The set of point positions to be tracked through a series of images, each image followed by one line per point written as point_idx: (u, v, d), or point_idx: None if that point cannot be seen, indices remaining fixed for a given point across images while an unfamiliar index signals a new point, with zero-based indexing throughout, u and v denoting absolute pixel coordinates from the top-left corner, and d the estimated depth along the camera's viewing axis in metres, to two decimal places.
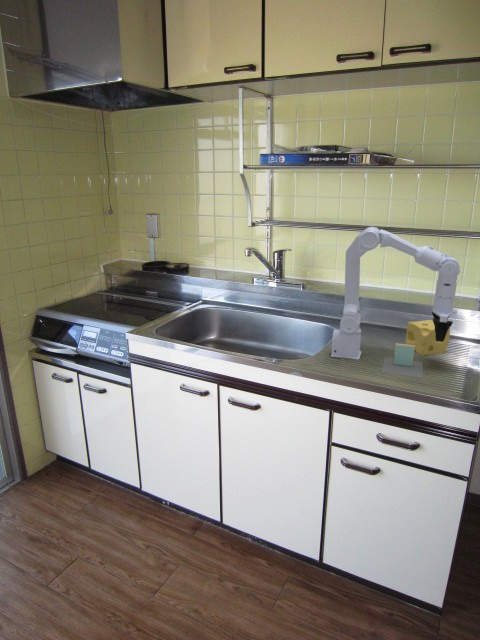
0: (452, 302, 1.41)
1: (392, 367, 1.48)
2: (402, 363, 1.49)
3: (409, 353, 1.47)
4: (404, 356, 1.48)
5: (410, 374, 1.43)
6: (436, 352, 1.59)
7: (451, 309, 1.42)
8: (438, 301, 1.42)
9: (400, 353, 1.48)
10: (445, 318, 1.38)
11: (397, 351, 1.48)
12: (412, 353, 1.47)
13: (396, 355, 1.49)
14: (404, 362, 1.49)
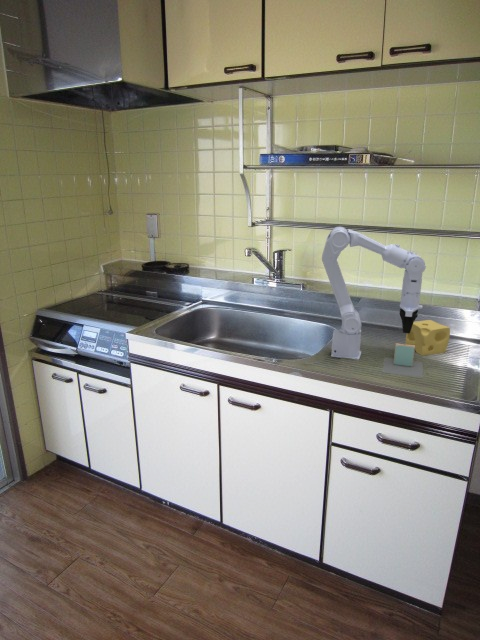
0: (417, 297, 1.47)
1: (392, 367, 1.48)
2: (402, 363, 1.49)
3: (409, 353, 1.47)
4: (404, 356, 1.48)
5: (410, 374, 1.43)
6: (436, 352, 1.59)
7: (417, 304, 1.48)
8: (404, 297, 1.48)
9: (400, 353, 1.48)
10: (410, 313, 1.44)
11: (397, 351, 1.48)
12: (412, 353, 1.47)
13: (396, 355, 1.49)
14: (404, 362, 1.49)
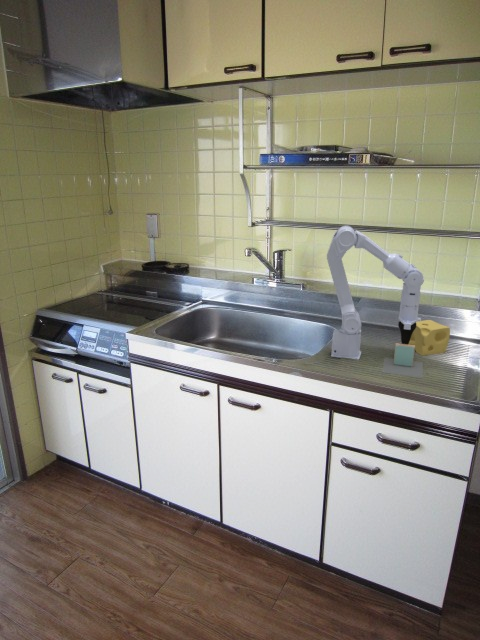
0: (416, 310, 1.49)
1: (392, 367, 1.48)
2: (402, 363, 1.49)
3: (409, 353, 1.47)
4: (404, 356, 1.48)
5: (410, 374, 1.43)
6: (436, 352, 1.59)
7: (415, 317, 1.49)
8: (403, 309, 1.49)
9: (400, 353, 1.48)
10: (408, 326, 1.45)
11: (397, 351, 1.48)
12: (412, 353, 1.47)
13: (396, 355, 1.49)
14: (404, 362, 1.49)
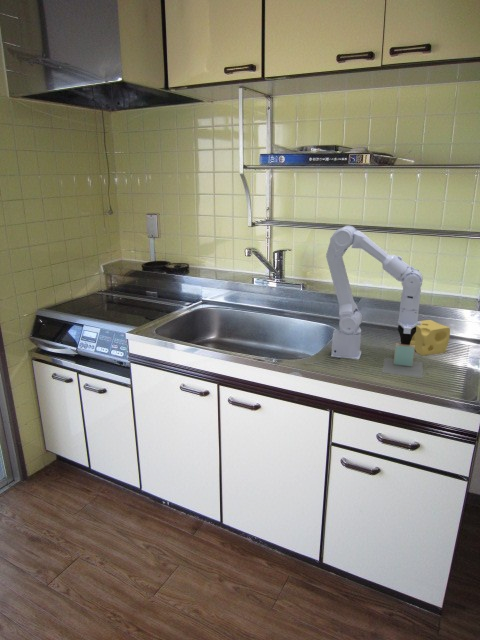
0: (416, 314, 1.45)
1: (392, 367, 1.48)
2: (402, 363, 1.49)
3: (409, 353, 1.47)
4: (404, 356, 1.48)
5: (410, 374, 1.43)
6: (436, 352, 1.59)
7: (415, 321, 1.46)
8: (402, 313, 1.46)
9: (400, 353, 1.48)
10: (408, 330, 1.42)
11: (397, 351, 1.48)
12: (412, 353, 1.47)
13: (396, 355, 1.49)
14: (404, 362, 1.49)
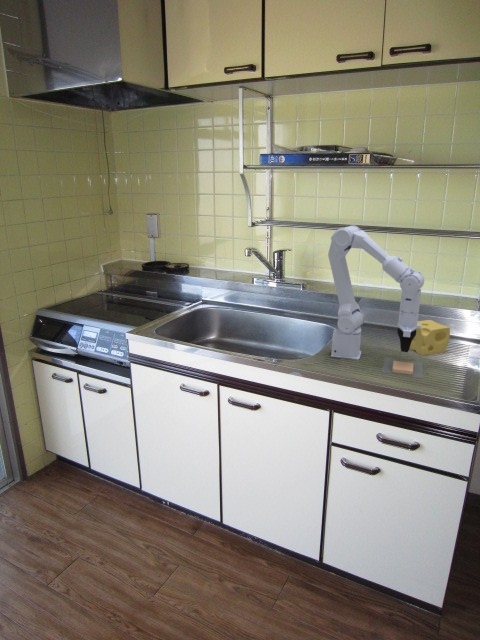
0: (416, 317, 1.42)
1: (392, 367, 1.48)
2: None
3: None
4: None
5: None
6: (436, 352, 1.59)
7: (415, 324, 1.43)
8: (402, 316, 1.43)
9: None
10: (408, 333, 1.39)
11: None
12: None
13: None
14: None
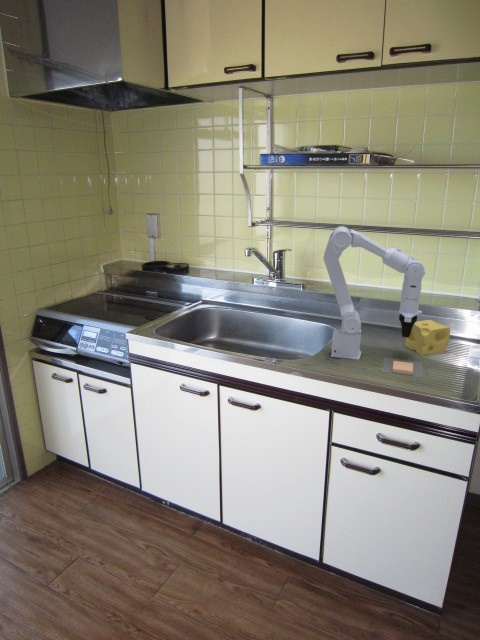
0: (417, 303, 1.48)
1: (392, 367, 1.48)
2: None
3: None
4: None
5: None
6: (436, 352, 1.59)
7: (416, 310, 1.48)
8: (404, 302, 1.48)
9: None
10: (409, 318, 1.44)
11: None
12: None
13: None
14: None
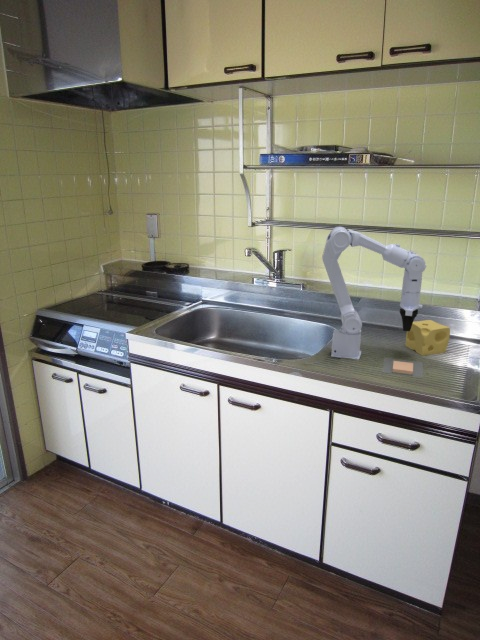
0: (417, 297, 1.48)
1: (392, 367, 1.48)
2: None
3: None
4: None
5: None
6: (436, 352, 1.59)
7: (417, 303, 1.49)
8: (404, 296, 1.49)
9: None
10: (410, 312, 1.45)
11: None
12: None
13: None
14: None
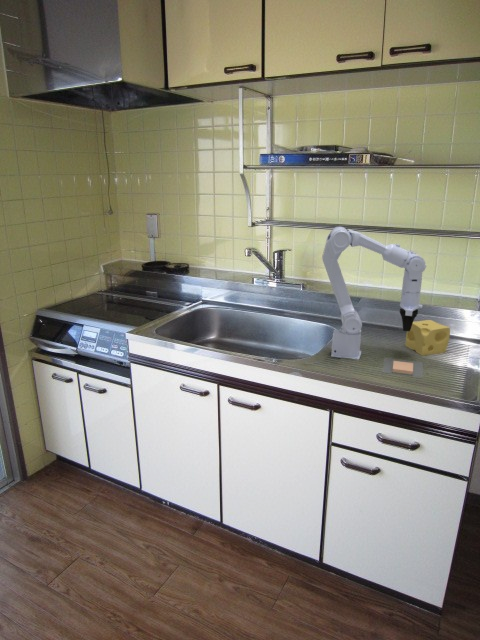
0: (417, 297, 1.48)
1: (392, 367, 1.48)
2: None
3: None
4: None
5: None
6: (436, 352, 1.59)
7: (417, 303, 1.49)
8: (404, 296, 1.49)
9: None
10: (410, 312, 1.45)
11: None
12: None
13: None
14: None
